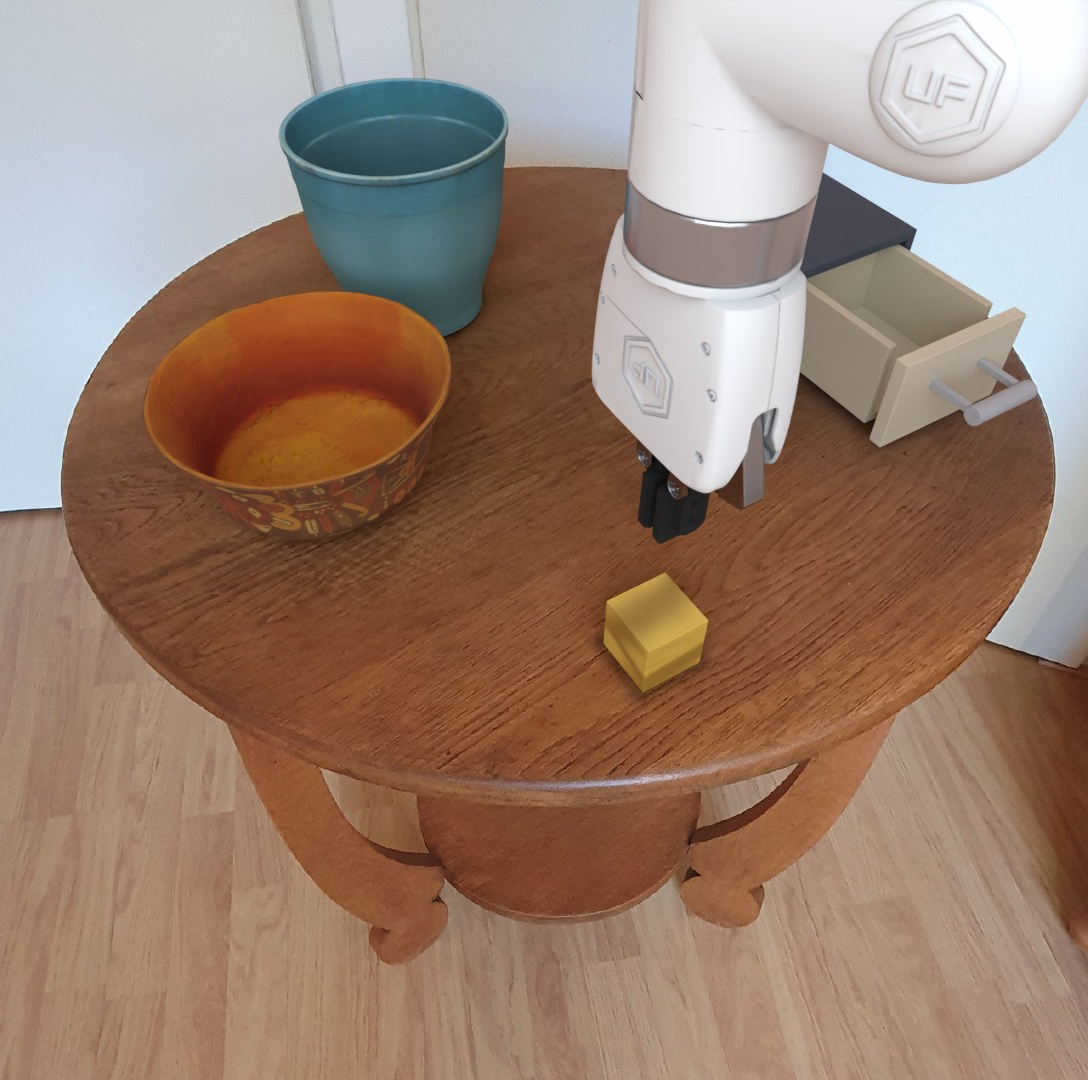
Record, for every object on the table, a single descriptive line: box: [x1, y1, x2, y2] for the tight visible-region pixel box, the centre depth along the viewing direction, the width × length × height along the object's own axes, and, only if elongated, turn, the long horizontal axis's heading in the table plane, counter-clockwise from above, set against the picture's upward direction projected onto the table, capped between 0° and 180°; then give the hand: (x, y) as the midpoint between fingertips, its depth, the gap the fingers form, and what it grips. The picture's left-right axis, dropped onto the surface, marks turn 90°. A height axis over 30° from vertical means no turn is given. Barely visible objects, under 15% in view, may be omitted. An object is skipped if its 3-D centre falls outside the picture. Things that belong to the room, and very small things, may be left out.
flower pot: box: [278, 77, 509, 338], centre depth 81 cm, size 18×18×17 cm
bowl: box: [141, 290, 453, 540], centre depth 68 cm, size 21×21×10 cm
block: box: [602, 572, 709, 694], centre depth 59 cm, size 4×4×4 cm
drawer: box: [800, 244, 1038, 448], centre depth 75 cm, size 20×12×8 cm, turn 31°
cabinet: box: [800, 172, 918, 279], centre depth 83 cm, size 16×14×10 cm
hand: (670, 523), depth 52 cm, fingers closed
